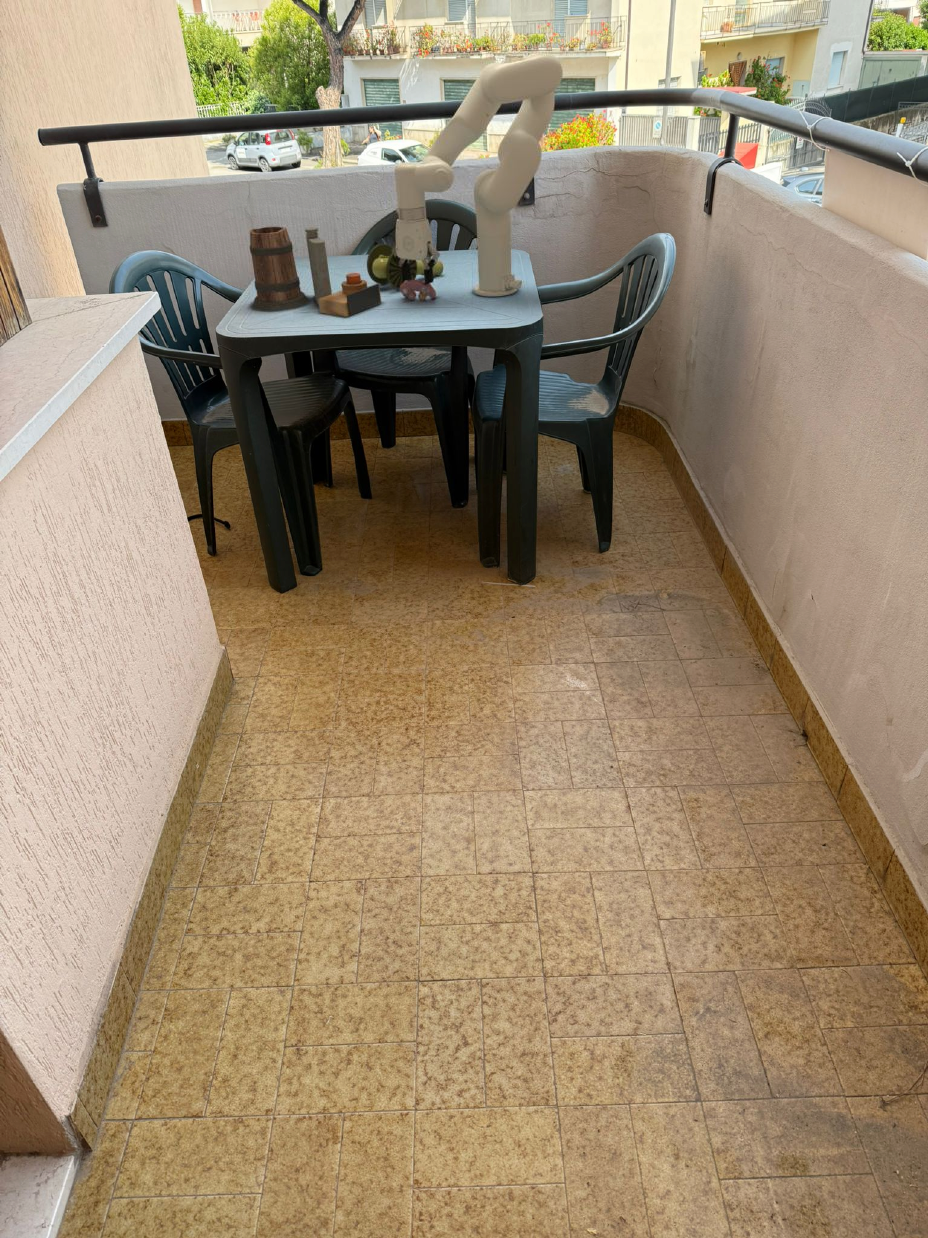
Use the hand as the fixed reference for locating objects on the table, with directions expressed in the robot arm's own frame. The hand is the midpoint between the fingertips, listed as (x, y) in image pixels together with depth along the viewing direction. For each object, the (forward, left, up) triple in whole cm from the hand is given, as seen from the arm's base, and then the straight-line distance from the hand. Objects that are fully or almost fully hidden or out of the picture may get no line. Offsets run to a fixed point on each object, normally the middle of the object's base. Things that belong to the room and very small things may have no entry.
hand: (417, 281), depth 238 cm
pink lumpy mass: (0, 0, -5) cm, 5 cm away
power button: (+14, +11, 0) cm, 18 cm away
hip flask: (+25, +14, -5) cm, 29 cm away
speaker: (+13, +15, -5) cm, 21 cm away
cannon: (+15, -14, -5) cm, 21 cm away
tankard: (+38, +18, -5) cm, 42 cm away
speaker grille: (+8, +15, -5) cm, 18 cm away
